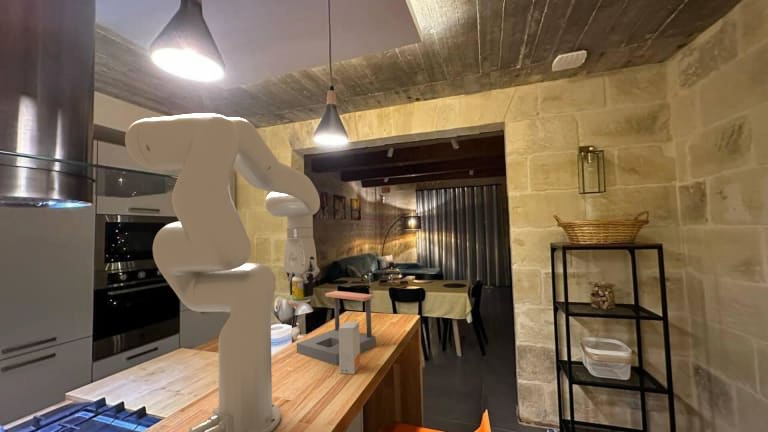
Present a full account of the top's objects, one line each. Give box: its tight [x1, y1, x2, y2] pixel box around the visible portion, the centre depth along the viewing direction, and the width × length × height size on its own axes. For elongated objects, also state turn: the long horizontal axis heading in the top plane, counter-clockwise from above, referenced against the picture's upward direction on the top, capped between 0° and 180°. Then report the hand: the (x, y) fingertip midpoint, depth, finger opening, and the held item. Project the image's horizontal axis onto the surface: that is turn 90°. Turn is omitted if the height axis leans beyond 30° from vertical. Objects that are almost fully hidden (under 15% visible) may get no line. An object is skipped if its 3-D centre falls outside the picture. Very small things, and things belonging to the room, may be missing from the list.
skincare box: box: [338, 321, 361, 375], centre depth 83 cm, size 6×4×12 cm
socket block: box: [296, 290, 377, 366], centre depth 98 cm, size 18×18×16 cm
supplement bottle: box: [291, 271, 312, 304], centre depth 89 cm, size 5×5×10 cm
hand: (301, 294), depth 89 cm, fingers closed on supplement bottle, 5 cm apart
